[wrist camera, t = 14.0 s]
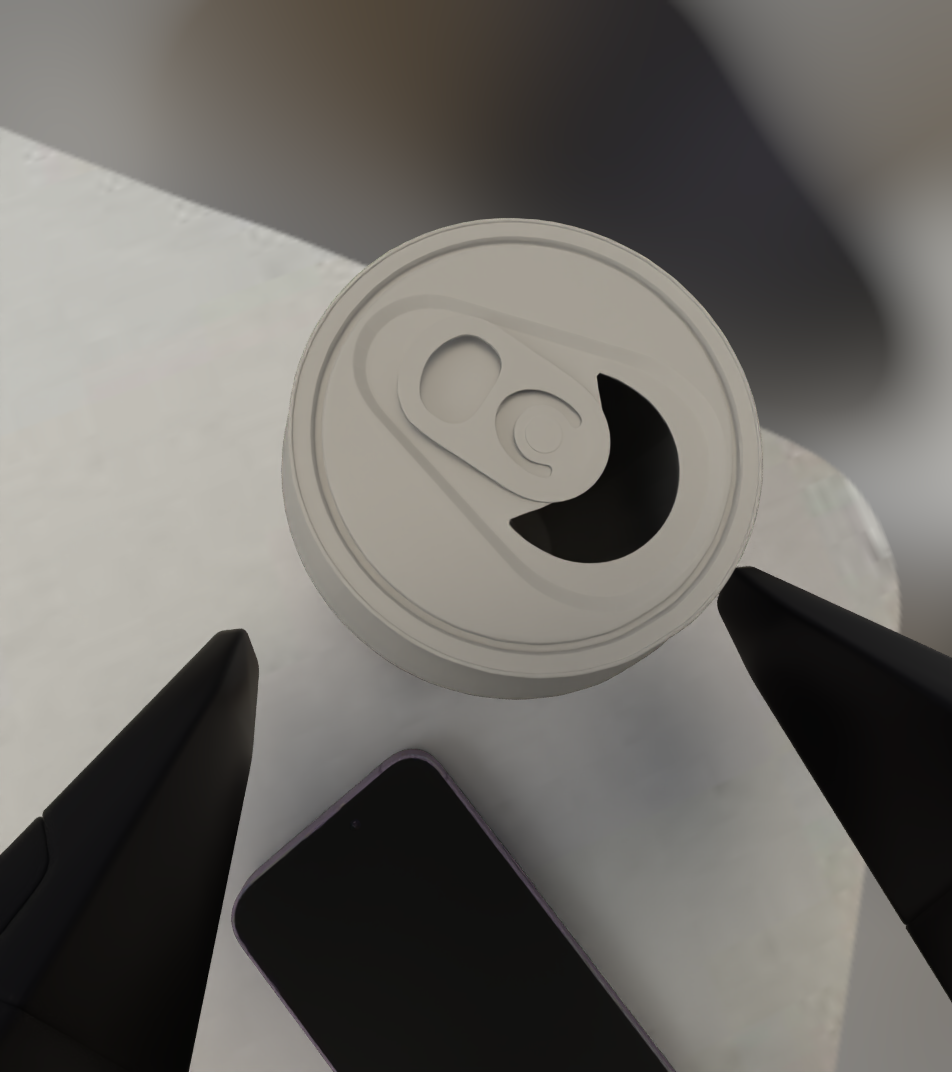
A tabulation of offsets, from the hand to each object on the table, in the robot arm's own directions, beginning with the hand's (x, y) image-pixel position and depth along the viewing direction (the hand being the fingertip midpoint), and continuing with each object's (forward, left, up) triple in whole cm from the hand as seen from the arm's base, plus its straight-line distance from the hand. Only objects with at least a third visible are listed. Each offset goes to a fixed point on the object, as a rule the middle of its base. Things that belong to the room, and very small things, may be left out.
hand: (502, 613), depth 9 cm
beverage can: (+2, -1, -8) cm, 8 cm away
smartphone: (-10, +7, -9) cm, 15 cm away
